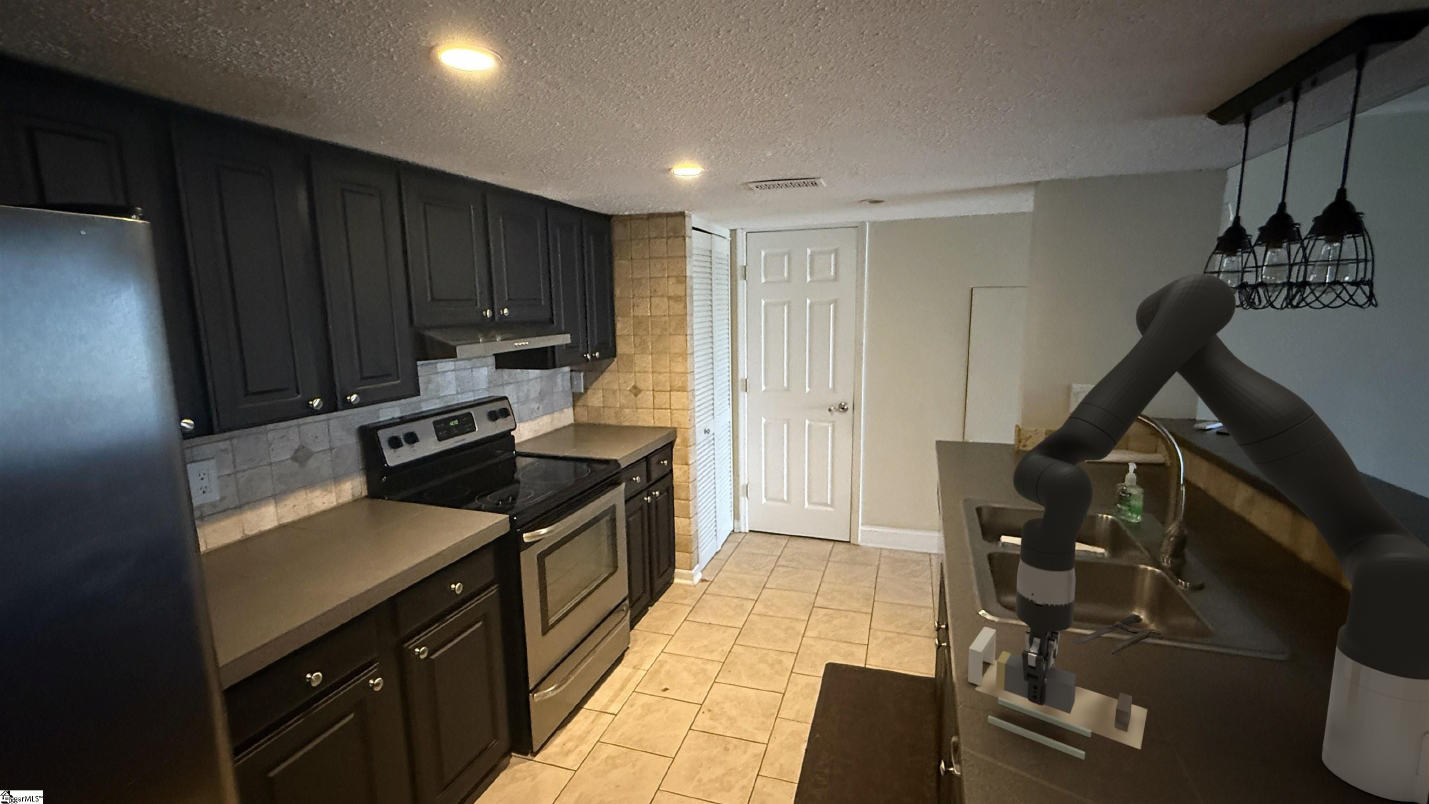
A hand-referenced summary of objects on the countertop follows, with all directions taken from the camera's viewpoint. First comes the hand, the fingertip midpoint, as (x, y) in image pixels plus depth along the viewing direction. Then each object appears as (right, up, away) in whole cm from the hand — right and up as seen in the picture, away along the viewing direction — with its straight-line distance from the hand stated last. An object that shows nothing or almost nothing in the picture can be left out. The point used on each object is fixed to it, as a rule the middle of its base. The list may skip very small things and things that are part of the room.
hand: (1039, 695), depth 91 cm
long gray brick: (0, 0, 0) cm, 0 cm away
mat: (0, -6, +1) cm, 6 cm away
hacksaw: (+29, -2, +23) cm, 37 cm away
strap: (-2, -4, +15) cm, 16 cm away
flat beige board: (+7, -5, +7) cm, 11 cm away
